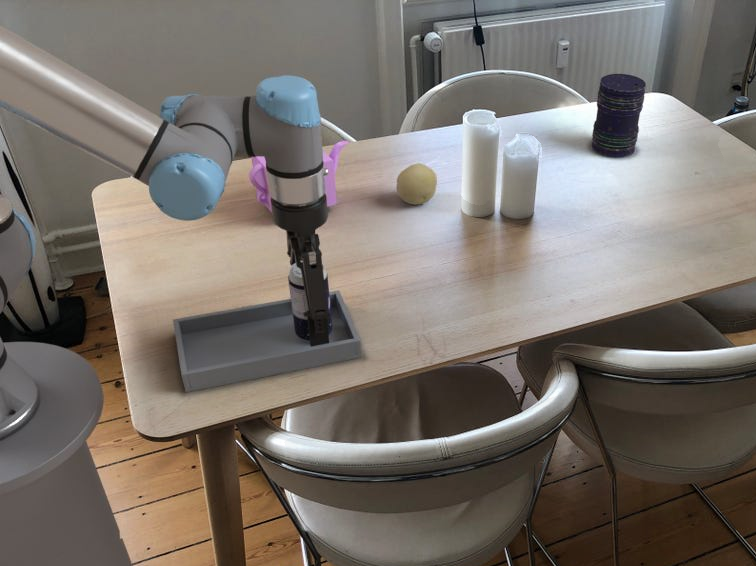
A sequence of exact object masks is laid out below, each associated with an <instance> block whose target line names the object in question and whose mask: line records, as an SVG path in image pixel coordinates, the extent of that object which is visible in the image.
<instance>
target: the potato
mask: <svg viewBox="0 0 756 566" xmlns="http://www.w3.org/2000/svg"><path fill="white" fill-rule="evenodd" d="M437 185H438V177H437V174H436V172H435V171H434V169H432V168H430V167H429V166H427V165H426V164H423V163H414V164H411V165H409V166H408V167H406V168H404V169H403V170H402V171H401V172H400V173H399V174H398V175H397V178H396V188H395V189H396V192H397V194H398V196H399V197H400V199H401V200H403V201H404V202H406V203H408V204H410V205H421V204H425V203H427V202H429V201H430V200H431V199H433V198H434V196H435V194H436V190H437Z"/></svg>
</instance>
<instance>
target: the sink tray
mask: <svg viewBox="0 0 756 566" xmlns="http://www.w3.org/2000/svg"><path fill="white" fill-rule="evenodd" d="M329 296H330V307H331V318H332V332H331V333H330V334H329V343H328V344H322V345H317V346H312V347H311V346H310V342H307V341H305V340H303V339H301V338H300V337H298V336H297V335H296V333H295V328H294V320H293V312H292V304H291V298H288V299H282V300H276V301H272V302H265V303H258V304H254V305H253V304H252V305H249V306H242V307H237V308H231V309H224V310H219V311H213V312H207V313H202V314H196V315H195V314H194V315H190V316H184V317H179V318H173V319H172V323H173V324H172V325H173V331H174V336H175V342H176V343H175V344H176V349H177V354H178V356H177V357H178V362H179V368H180V374H181V375H180V376H181V379H182V383H183V388H184V391H185V393H192V392H195V391H200V390H205V389H206V390H207V389H211V388H215V387H220V386H226V385H230V384H236V383H241V382H245V381H250V380H255V379H256V380H257V379H261V378H266V377H270V376H275V375H280V374H287V373H291V372H295V371H300V370H306V369H311V368H314V367H315V368H316V367H320V366H326V365H330V364H336V363H340V362H344V361H345V362H346V361H351V360H355V359H360V358H362V344H361V338H360V336H359V334H358V331H357V329H356V327H355V324H354V321H353V319H352V317H351V315H350V312H349V310H348V308H347V305H346V303H345V300H344V297H343V296H342V294H341V291H340V290H334V291H329Z"/></svg>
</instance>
